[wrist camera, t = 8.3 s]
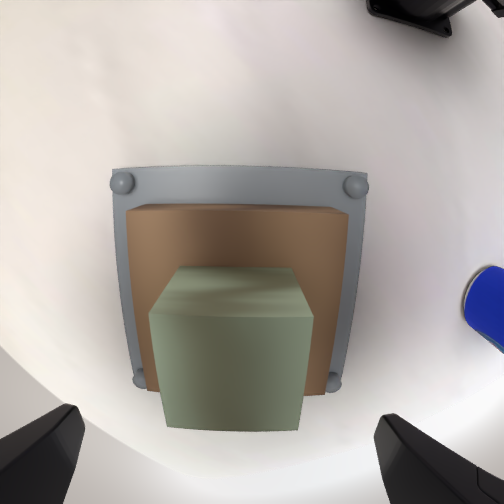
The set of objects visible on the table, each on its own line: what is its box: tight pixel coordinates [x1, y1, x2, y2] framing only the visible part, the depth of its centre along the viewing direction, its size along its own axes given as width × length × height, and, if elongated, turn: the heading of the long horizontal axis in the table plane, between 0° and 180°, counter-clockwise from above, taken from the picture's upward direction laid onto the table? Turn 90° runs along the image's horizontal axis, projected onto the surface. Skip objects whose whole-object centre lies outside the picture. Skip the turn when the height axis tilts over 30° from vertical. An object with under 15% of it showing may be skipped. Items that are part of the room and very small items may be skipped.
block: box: [148, 266, 314, 432], centre depth 12 cm, size 5×5×5 cm
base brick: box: [126, 204, 349, 396], centre depth 16 cm, size 10×10×3 cm
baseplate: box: [110, 166, 369, 393], centre depth 18 cm, size 14×14×2 cm
